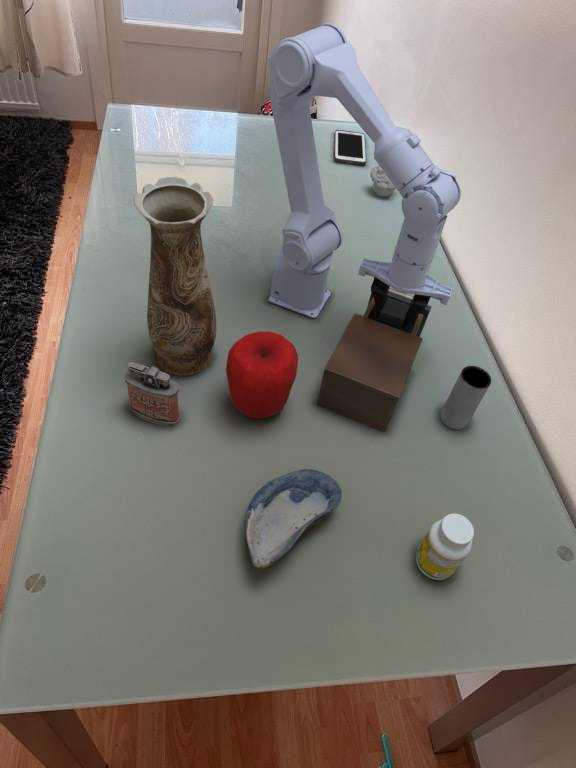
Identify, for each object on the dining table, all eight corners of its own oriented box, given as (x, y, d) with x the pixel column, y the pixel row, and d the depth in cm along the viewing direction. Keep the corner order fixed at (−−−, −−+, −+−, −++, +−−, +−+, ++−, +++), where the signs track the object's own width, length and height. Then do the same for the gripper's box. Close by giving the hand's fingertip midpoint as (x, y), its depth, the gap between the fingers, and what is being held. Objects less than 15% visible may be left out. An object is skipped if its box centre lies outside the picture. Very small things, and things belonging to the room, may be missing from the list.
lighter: (184, 413, 89) (182, 370, 82) (174, 430, 87) (171, 387, 79) (136, 396, 90) (129, 352, 83) (125, 413, 88) (117, 369, 81)
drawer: (373, 300, 109) (381, 272, 104) (426, 320, 107) (437, 291, 102) (342, 359, 99) (350, 330, 93) (401, 382, 97) (412, 354, 92)
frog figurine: (366, 184, 136) (372, 156, 131) (396, 189, 136) (403, 161, 131) (365, 199, 132) (371, 170, 127) (395, 204, 132) (403, 176, 127)
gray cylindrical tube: (434, 417, 94) (455, 375, 86) (449, 402, 96) (471, 360, 88) (458, 434, 92) (481, 393, 84) (473, 419, 94) (497, 377, 87)
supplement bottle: (441, 589, 76) (466, 558, 68) (406, 562, 78) (427, 529, 70) (461, 560, 79) (487, 527, 71) (427, 534, 80) (449, 500, 73)
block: (375, 329, 98) (380, 311, 95) (382, 314, 100) (387, 296, 97) (397, 337, 97) (404, 320, 94) (404, 322, 100) (410, 305, 97)
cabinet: (345, 349, 102) (354, 312, 95) (408, 373, 99) (423, 338, 93) (316, 404, 93) (324, 368, 86) (385, 432, 91) (399, 397, 84)
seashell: (340, 586, 75) (347, 570, 71) (241, 580, 74) (243, 564, 70) (335, 481, 84) (341, 462, 81) (248, 475, 84) (250, 456, 80)
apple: (260, 368, 97) (267, 307, 86) (304, 406, 93) (317, 347, 82) (211, 400, 91) (211, 339, 81) (255, 442, 87) (261, 384, 77)
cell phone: (334, 162, 141) (334, 158, 140) (334, 132, 151) (335, 129, 150) (365, 166, 141) (366, 162, 141) (364, 136, 151) (365, 132, 150)
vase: (227, 348, 99) (232, 189, 76) (194, 391, 92) (189, 231, 69) (173, 325, 101) (163, 164, 78) (137, 366, 94) (114, 203, 71)
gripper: (466, 254, 88) (439, 320, 99) (376, 224, 91) (359, 291, 101) (456, 281, 84) (429, 346, 94) (361, 248, 87) (345, 315, 97)
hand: (392, 319), depth 98 cm, fingers closed on block, 4 cm apart
